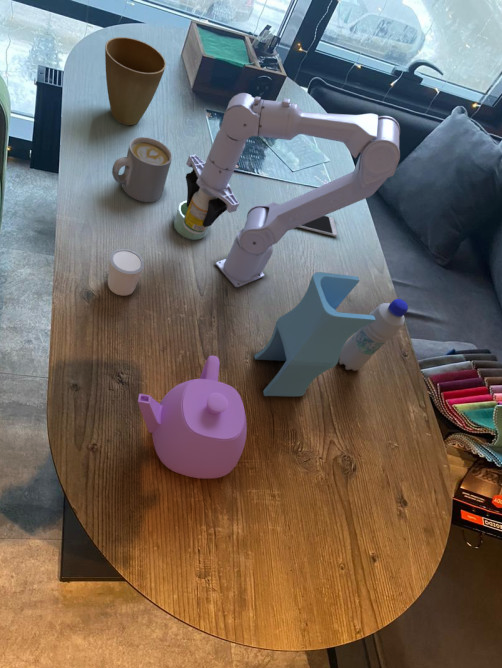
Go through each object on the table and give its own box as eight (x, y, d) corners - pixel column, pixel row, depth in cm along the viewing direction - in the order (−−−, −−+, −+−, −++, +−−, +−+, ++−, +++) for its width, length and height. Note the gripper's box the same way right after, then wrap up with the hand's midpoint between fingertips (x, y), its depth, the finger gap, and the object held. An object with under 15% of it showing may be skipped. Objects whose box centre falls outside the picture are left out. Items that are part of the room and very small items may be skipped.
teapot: (131, 378, 94) (149, 328, 82) (233, 398, 98) (263, 353, 86) (119, 476, 83) (136, 435, 71) (233, 493, 88) (268, 457, 76)
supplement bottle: (195, 238, 109) (211, 202, 101) (177, 222, 109) (192, 185, 101) (210, 229, 112) (226, 194, 104) (192, 213, 112) (208, 177, 105)
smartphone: (284, 204, 136) (333, 217, 140) (283, 206, 137) (332, 219, 141) (287, 223, 132) (337, 235, 136) (286, 225, 133) (336, 237, 137)
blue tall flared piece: (306, 396, 104) (376, 320, 84) (264, 395, 101) (326, 315, 81) (295, 357, 109) (358, 276, 89) (253, 355, 106) (310, 270, 86)
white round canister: (132, 302, 103) (139, 278, 98) (100, 290, 102) (105, 265, 97) (141, 280, 107) (148, 255, 101) (110, 268, 106) (115, 243, 100)
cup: (192, 212, 124) (198, 197, 120) (213, 234, 122) (219, 220, 118) (166, 219, 120) (171, 204, 116) (187, 243, 118) (192, 228, 114)
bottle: (362, 357, 116) (418, 299, 99) (358, 379, 112) (416, 322, 96) (336, 345, 115) (388, 284, 99) (331, 365, 111) (385, 306, 95)
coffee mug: (156, 176, 127) (166, 139, 119) (166, 203, 123) (176, 167, 115) (104, 171, 122) (110, 132, 114) (112, 200, 117) (119, 161, 109)
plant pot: (96, 94, 137) (105, 30, 124) (150, 108, 142) (163, 47, 129) (96, 127, 130) (105, 62, 117) (153, 140, 134) (168, 78, 122)
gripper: (184, 137, 97) (164, 195, 108) (230, 189, 94) (205, 243, 104) (211, 133, 101) (189, 189, 111) (256, 183, 97) (229, 235, 108)
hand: (198, 215), depth 108 cm, fingers closed on supplement bottle, 5 cm apart
